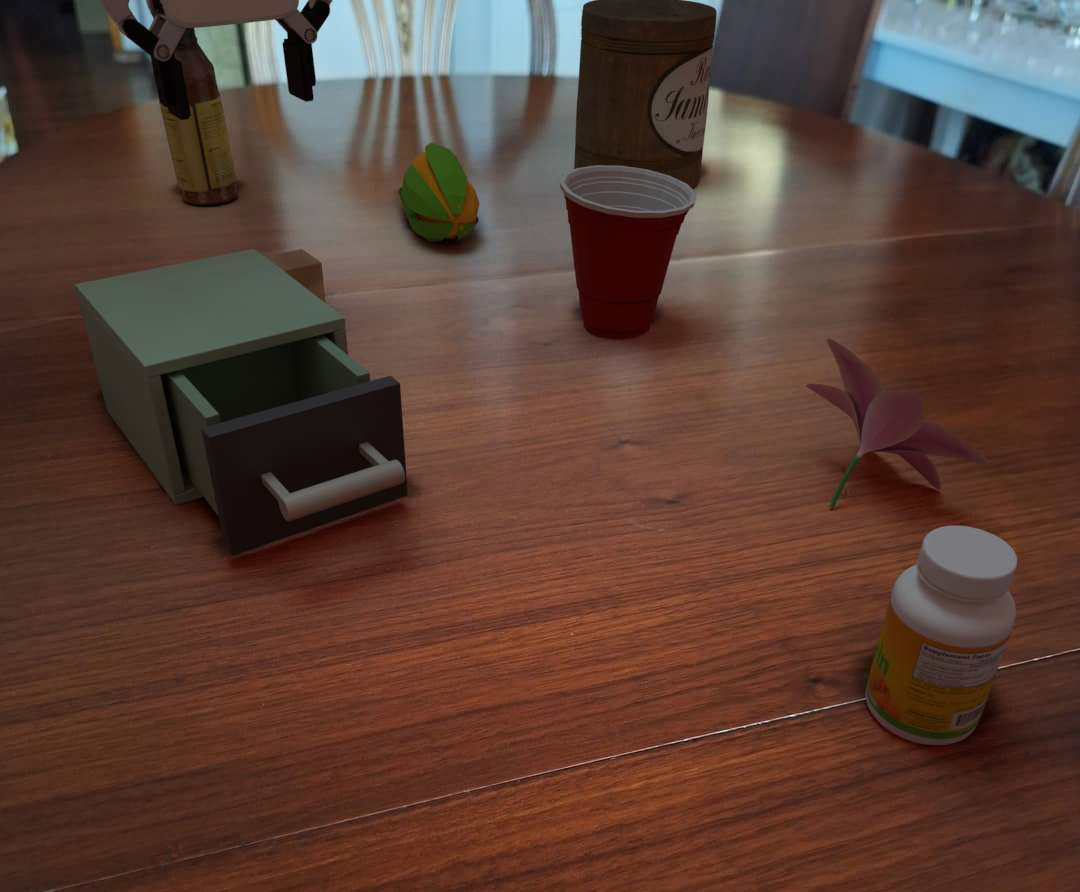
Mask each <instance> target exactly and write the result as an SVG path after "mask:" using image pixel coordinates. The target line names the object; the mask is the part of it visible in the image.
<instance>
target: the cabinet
mask: <svg viewBox="0 0 1080 892" xmlns="http://www.w3.org/2000/svg"><path fill="white" fill-rule="evenodd" d="M265 256H266V255H264V254H262V253H261V252H260V251H259V250H257V249H256V248H249V249H245V250H240V251H235V252H230V253H224V254H220V255H215V256H209V257H205V258H199V259H195V260H189V261H184V262H180V263H175V264H170V265H163V266H159V267H153V268H150V269H146V270H145V269H144V270H139V271H134V272H129V273H124V274H120V275H115V276H109V277H104V278H100V279H95V280H89V281H84V282H79V283H75V284H74V288H75V292H76V295H77V300H78V304H79V307H80V311H81V315H82V319H83V323H84V328H85V331H86V334H87V339H88V342H89V346H90V350H91V355H92V357H93V363H94V365H95V366H94V367H95V370H96V374H97V377H98V382H99V385H100V389H101V393H102V397H103V401H104V404H105V408H106V412H107V414H108V415H109V416H110V417H111V419H112V420H113V421H114V423H115V424H116V425H117V427H118V428H119V429H120V431H121V432H122V434H123V435H124V437H125V438H126V439H127V441H128V442H129V443H130V445H131V446H132V447H133V449H134V450H135V451H136V453H137V455H138V456H139V457H140V458H141V460H142V462H143V463H144V464H145V465H146V466H147V468H148V470H149V471H150V472H151V473H152V474H153V476H154V477H155V479H156V480H157V481H158V483H159V484H160V485H161V487H162V488H163V490H164V491H165V493H166V494H167V495H168V497H169V498H170V499H171V500H172V502H173V503H174V505H175V506H179V505H181V504H185V503H189V502H191V501H195V500H198V499H202V498H204V497H203V495H202V494H201V493H200V491H199V490H198V489H197V488H196V486H195V485H194V484H193V482H192V481H191V480H190V479H189V477H188V476H187V475H186V474H185V472H184V471H183V470H182V468H181V467H180V463H179V458H178V453H177V449H176V444H175V440H174V435H173V430H172V426H171V421H170V417H169V412H168V408H167V403H166V398H165V394H164V389H163V385H162V380H161V376H160V375H161V374H165V373H169V372H173V371H177V370H181V369H185V368H189V367H194V366H198V365H202V364H206V363H210V362H214V361H218V360H222V359H226V358H230V357H234V356H238V355H242V354H246V353H250V352H254V351H258V350H262V349H266V348H270V347H274V346H278V345H282V344H286V343H290V342H294V341H298V340H302V339H306V338H310V337H314V336H318V335H322V334H323V335H324V336H325V337H326V338H327V339H329V340H330V341H331V342H332V343H334V344H335V345H336V346H337V347H338V348H340V349H341V350H342V351H343V352H345V353H346V354H347V355H348V356H349V349H348V340H347V339H348V338H347V329H346V318H345V317H344V316H343V315H342V314H340V313H339V312H338V311H337V310H335V309H334V308H332V307H331V306H330V305H329V304H327V302H326V303H325V302H323V301H322V300H321V299H319V298H318V297H317V296H316V295H314V294H313V293H312V292H310V291H309V290H308V289H306V288H305V287H304V286H303V285H301V284H300V283H299V282H297V281H296V280H295V279H293V278H292V277H291V276H290V275H288V274H287V273H286V272H284V271H283V270H282V269H280V268H279V267H278V266H277V265H275V264H274V263H273V262H271V261H270V260H269V259H267V258H266V257H265Z"/></svg>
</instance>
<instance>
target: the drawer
mask: <svg viewBox="0 0 1080 892" xmlns="http://www.w3.org/2000/svg"><path fill="white" fill-rule="evenodd" d="M160 376H161V380H162V385H163V389H164V394H165V398H166V403H167V408H168V412H169V417H170V421H171V426H172V430H173V435H174V440H175V444H176V449H177V453H178V458H179V463H180V467H181V468H182V470H183V471H184V472H185V474H186V475H187V476H188V477H189V479H190V480H191V481H192V482H193V484H194V485H195V486H196V488H197V489H198V490H199V491H200V493H201V494H202V495H203V497H202V498H204V499H205V501H206V502H207V503H208V505H209V506H210V507H211V509H212V510H213V511H214V512H215V513H216V515H217V516H218V520H219V525H220V530H221V534H222V540H223V545H224V548H226V550H227V551H228V552H229V554H230V555H231V556H233V557H234V556H236V555H239V554H243V553H244V552H248V551H250V550H254V549H257V548H259V547H263V546H266V545H268V544H272V543H274V542H277V541H280V540H283V539H286V538H289V537H292V536H294V535H297V534H300V533H303V532H306V531H309V530H313V529H314V528H318V527H320V526H323V525H326V524H330V523H332V522H335V521H339V520H341V519H344V518H347V517H350V516H352V515H355V514H359V513H362V512H365V511H368V510H371V509H373V508H376V507H379V506H383V505H386V504H388V503H391V502H393V501H396V500H399V499H402V498H406V497H408V495H409V493H408V492H409V491H408V477H407V476H408V475H407V462H406V449H405V437H404V435H405V433H404V422H403V421H404V420H403V405H402V392H401V383H400V382H399V381H398V380H397V379H395V378H394V377H393V376H392V375H388V376H384V377H380V378H377V379H373V380H371V376H370V372H369V371H368V370H367V369H365V368H364V367H363V366H362V365H361V364H360V363H358V362H357V361H355V360H354V359H353V358H352V357H351V356H349V354H348V355H347V354H346V353H345V352H343V351H342V350H341V349H340V348H338V347H337V346H336V345H335V344H334V343H332V342H331V341H330V340H329V339H327V338H326V337H325V336H324V335H323V334H322V335H318V336H314V337H310V338H306V339H302V340H298V341H294V342H290V343H286V344H282V345H278V346H274V347H270V348H266V349H262V350H258V351H254V352H250V353H246V354H242V355H238V356H234V357H230V358H226V359H222V360H218V361H214V362H210V363H206V364H202V365H198V366H194V367H189V368H185V369H181V370H177V371H173V372H169V373H165V374H161V375H160Z"/></svg>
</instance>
